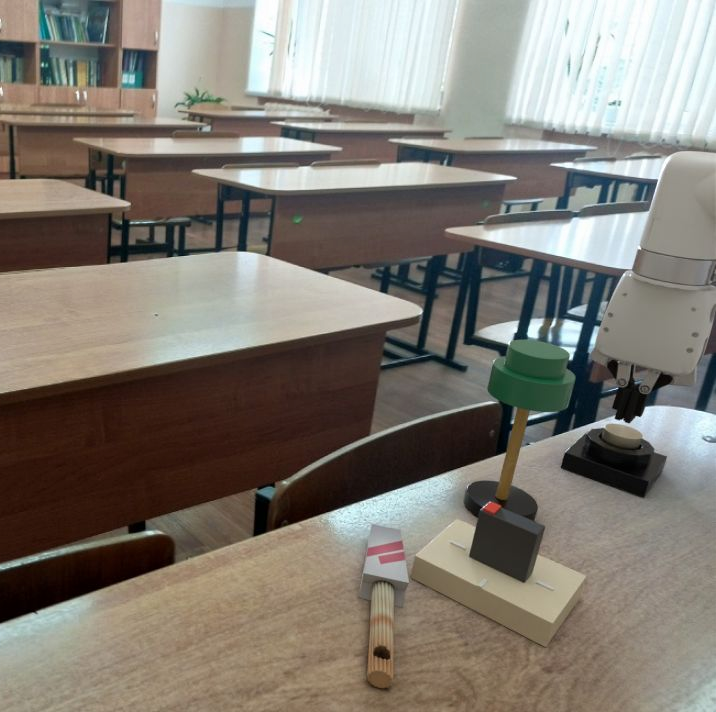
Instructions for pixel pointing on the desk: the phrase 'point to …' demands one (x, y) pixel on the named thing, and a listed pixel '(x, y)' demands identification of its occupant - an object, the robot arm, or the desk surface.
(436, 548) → the dimmer
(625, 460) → the lamp switch
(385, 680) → the paintbrush
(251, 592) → the desk surface
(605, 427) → the button
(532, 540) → the dimmer knob
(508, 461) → the desk lamp
